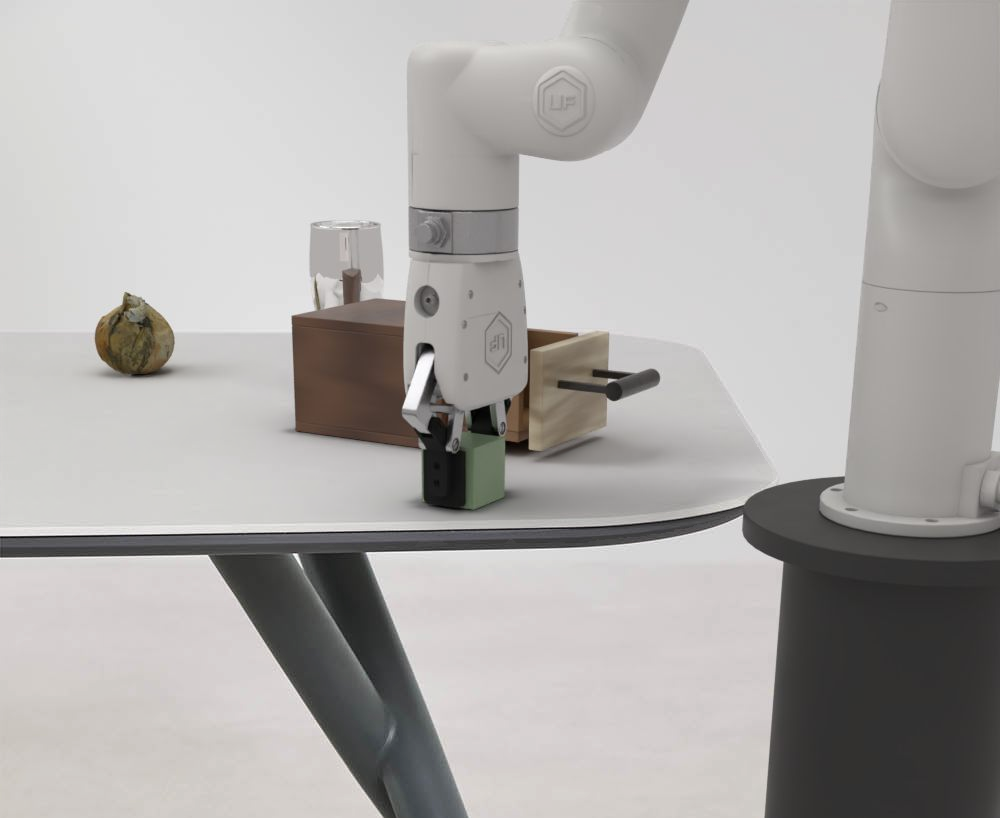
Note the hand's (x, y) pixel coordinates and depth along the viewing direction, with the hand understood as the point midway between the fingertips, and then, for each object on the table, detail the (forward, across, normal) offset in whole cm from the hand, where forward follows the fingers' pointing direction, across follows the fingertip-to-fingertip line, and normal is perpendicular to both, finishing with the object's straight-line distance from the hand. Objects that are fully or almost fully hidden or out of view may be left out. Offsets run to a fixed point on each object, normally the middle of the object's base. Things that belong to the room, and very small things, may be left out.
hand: (463, 494), depth 124 cm
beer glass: (+1, +32, +32) cm, 45 cm away
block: (0, 0, 0) cm, 0 cm away
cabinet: (0, +19, +17) cm, 25 cm away
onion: (+1, +27, +54) cm, 60 cm away
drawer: (-1, +19, +5) cm, 20 cm away
